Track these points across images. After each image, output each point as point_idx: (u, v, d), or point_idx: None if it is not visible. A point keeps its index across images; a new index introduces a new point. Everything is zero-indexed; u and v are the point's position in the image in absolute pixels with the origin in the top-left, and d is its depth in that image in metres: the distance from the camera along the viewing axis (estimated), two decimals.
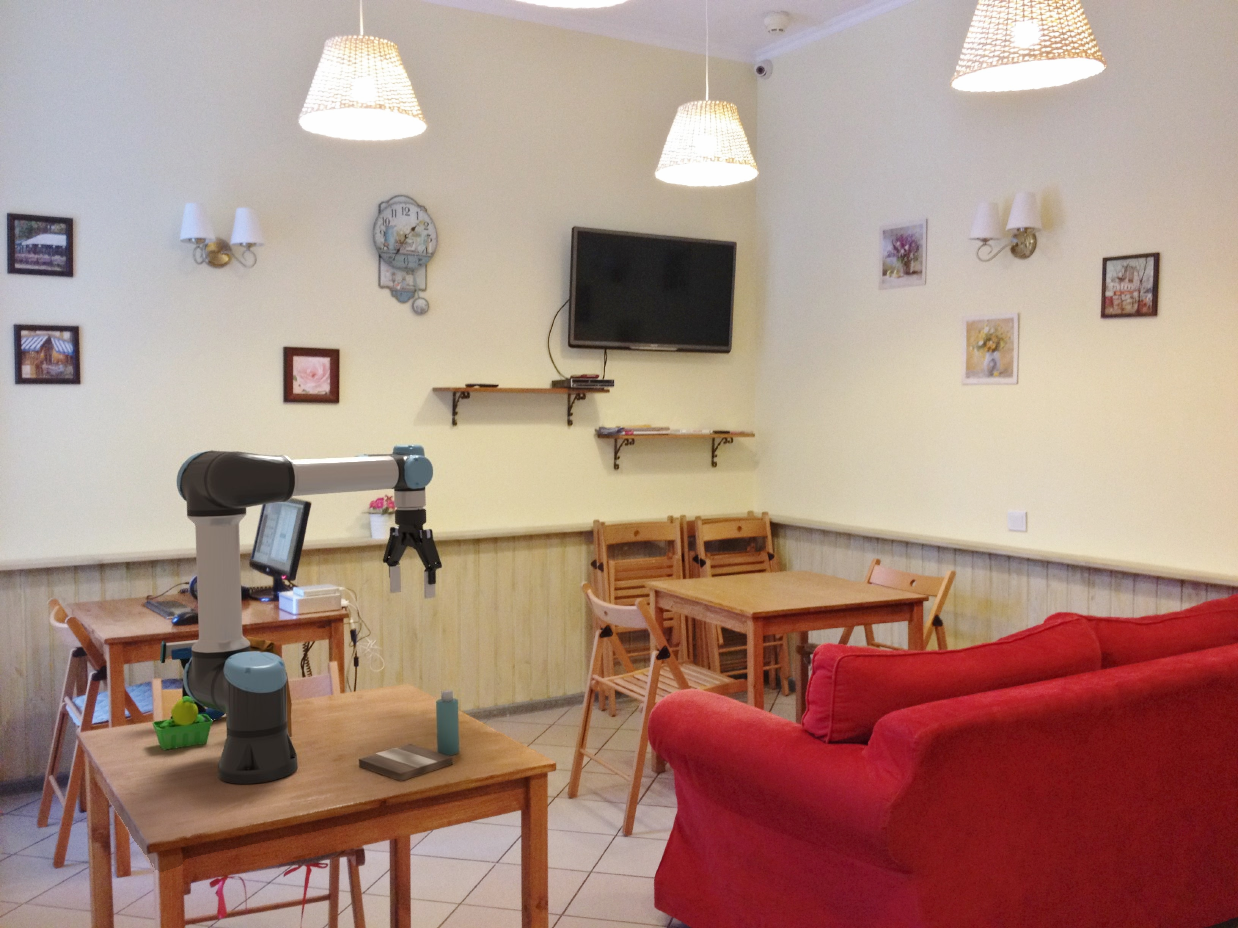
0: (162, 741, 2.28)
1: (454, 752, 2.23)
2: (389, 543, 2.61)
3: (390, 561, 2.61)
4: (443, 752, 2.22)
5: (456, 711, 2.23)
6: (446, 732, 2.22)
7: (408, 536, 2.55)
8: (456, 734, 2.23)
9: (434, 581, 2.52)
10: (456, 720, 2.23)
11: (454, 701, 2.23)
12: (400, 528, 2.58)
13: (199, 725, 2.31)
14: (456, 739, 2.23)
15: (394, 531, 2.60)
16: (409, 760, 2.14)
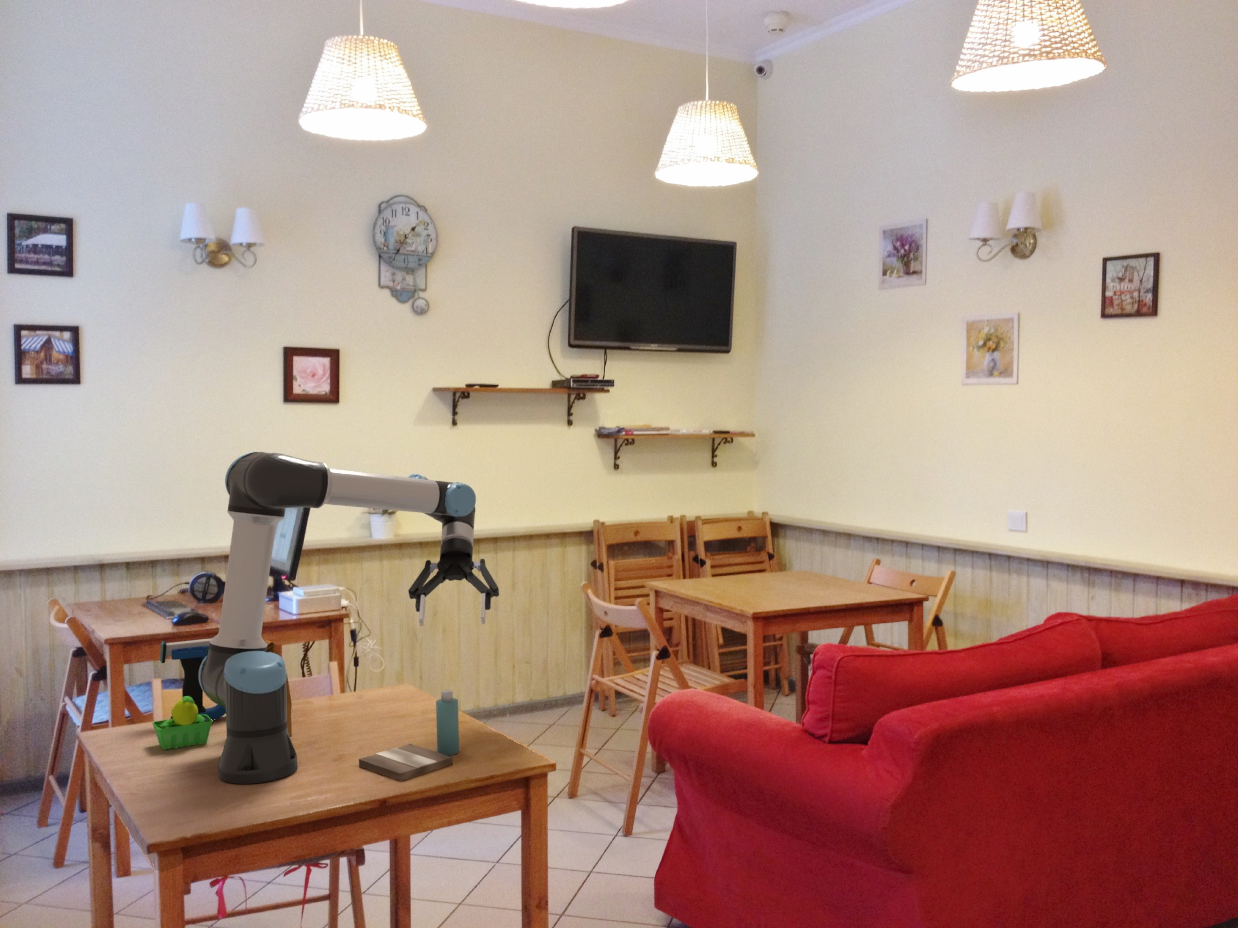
0: (162, 741, 2.28)
1: (454, 752, 2.23)
2: (423, 574, 2.41)
3: (422, 590, 2.38)
4: (443, 752, 2.22)
5: (456, 711, 2.23)
6: (446, 732, 2.22)
7: (461, 563, 2.43)
8: (456, 734, 2.23)
9: (490, 606, 2.38)
10: (456, 720, 2.23)
11: (454, 701, 2.23)
12: (443, 560, 2.44)
13: (199, 725, 2.31)
14: (456, 739, 2.23)
15: (430, 565, 2.44)
16: (409, 760, 2.14)
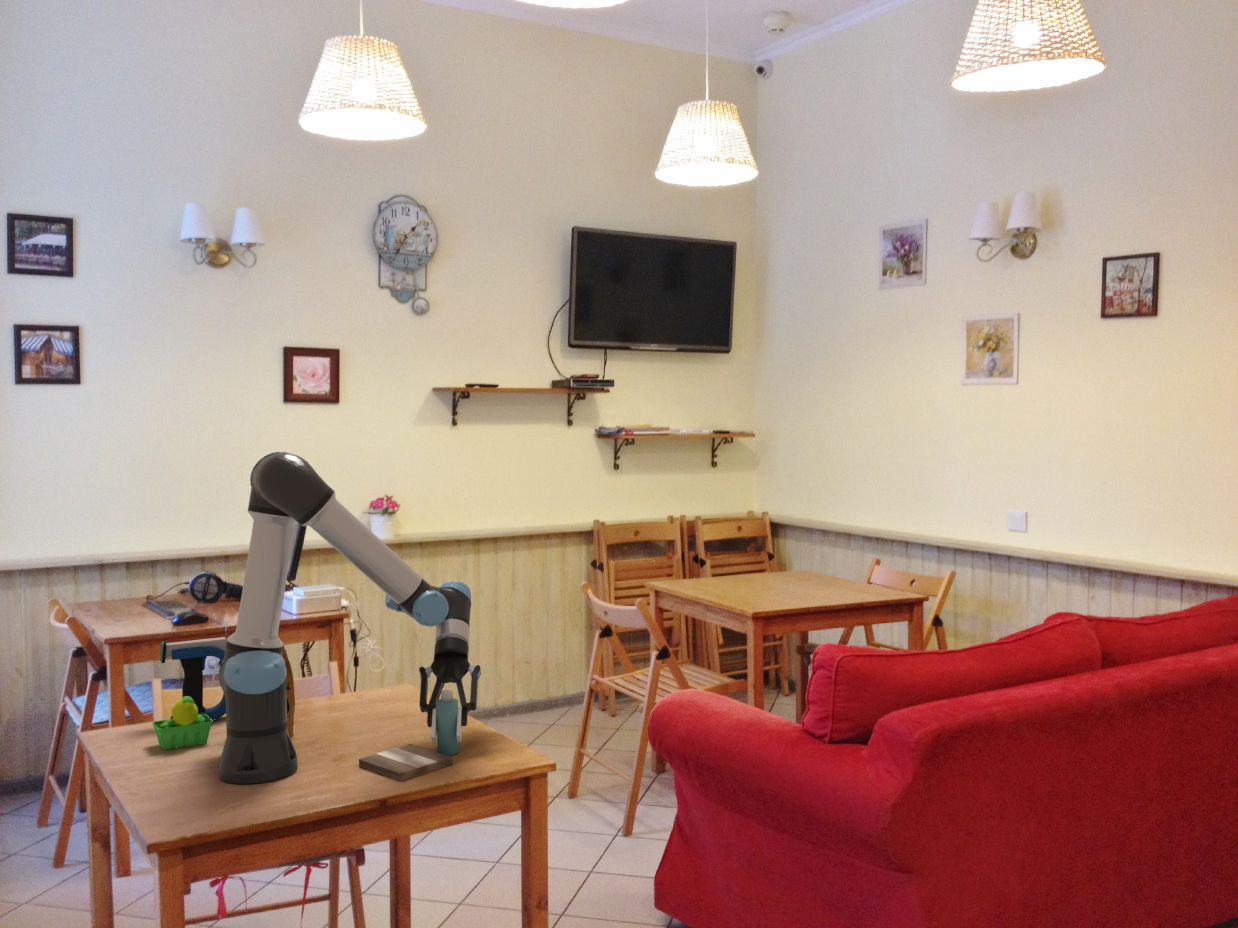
0: (162, 741, 2.28)
1: (454, 752, 2.23)
2: (424, 683, 2.28)
3: (432, 702, 2.25)
4: (443, 752, 2.22)
5: (456, 711, 2.23)
6: (446, 732, 2.22)
7: (456, 665, 2.30)
8: (456, 734, 2.23)
9: (466, 722, 2.24)
10: (456, 720, 2.23)
11: (454, 701, 2.23)
12: (436, 661, 2.32)
13: (199, 725, 2.31)
14: (456, 739, 2.23)
15: (425, 670, 2.31)
16: (409, 760, 2.14)
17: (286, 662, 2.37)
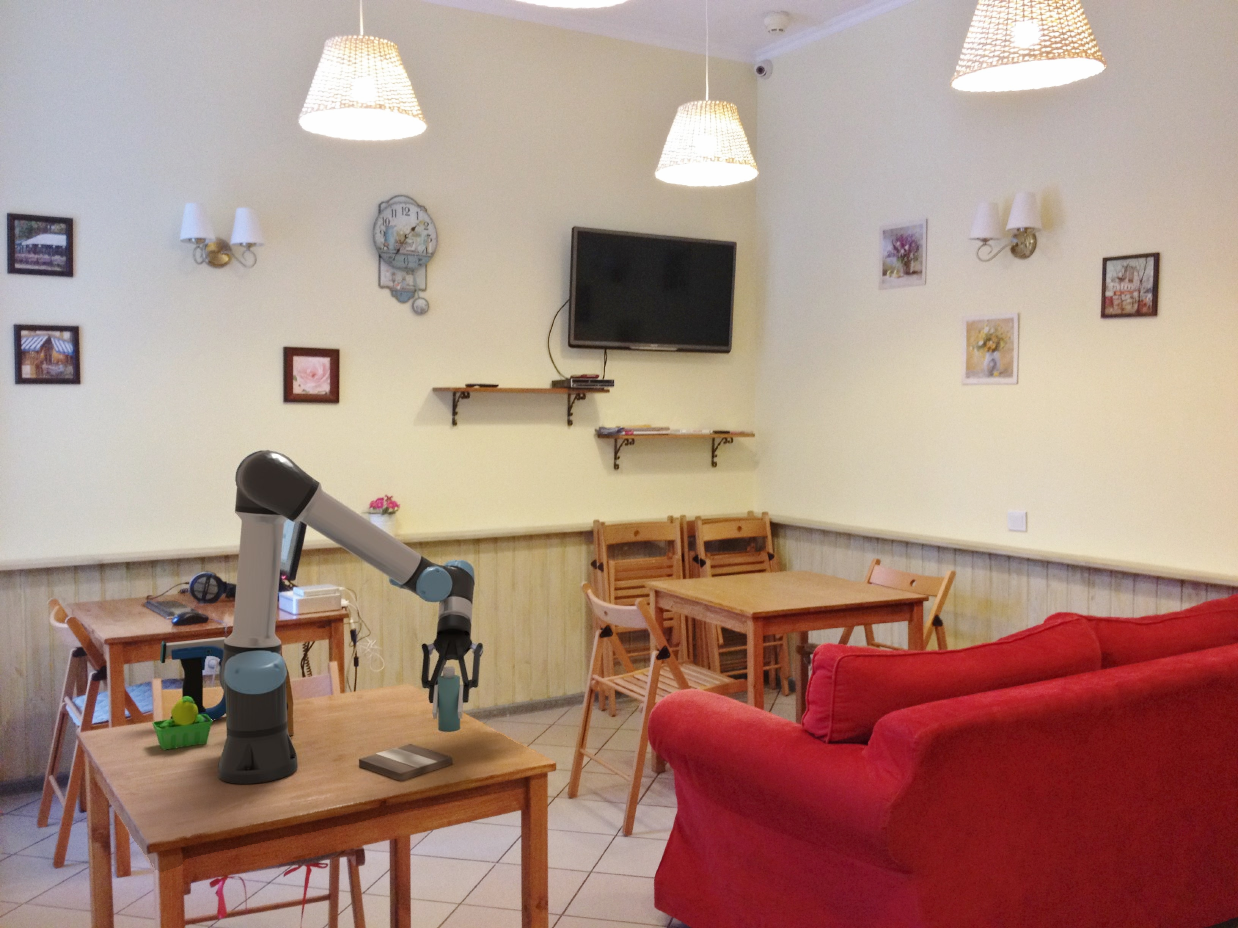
0: (162, 741, 2.28)
1: (455, 728, 2.22)
2: (426, 659, 2.28)
3: (434, 678, 2.25)
4: (444, 728, 2.22)
5: (458, 687, 2.23)
6: (448, 708, 2.22)
7: (458, 642, 2.30)
8: (457, 711, 2.23)
9: (468, 698, 2.24)
10: (458, 697, 2.23)
11: (456, 677, 2.23)
12: (438, 638, 2.32)
13: (199, 725, 2.31)
14: (457, 716, 2.23)
15: None
16: (409, 760, 2.14)
17: None
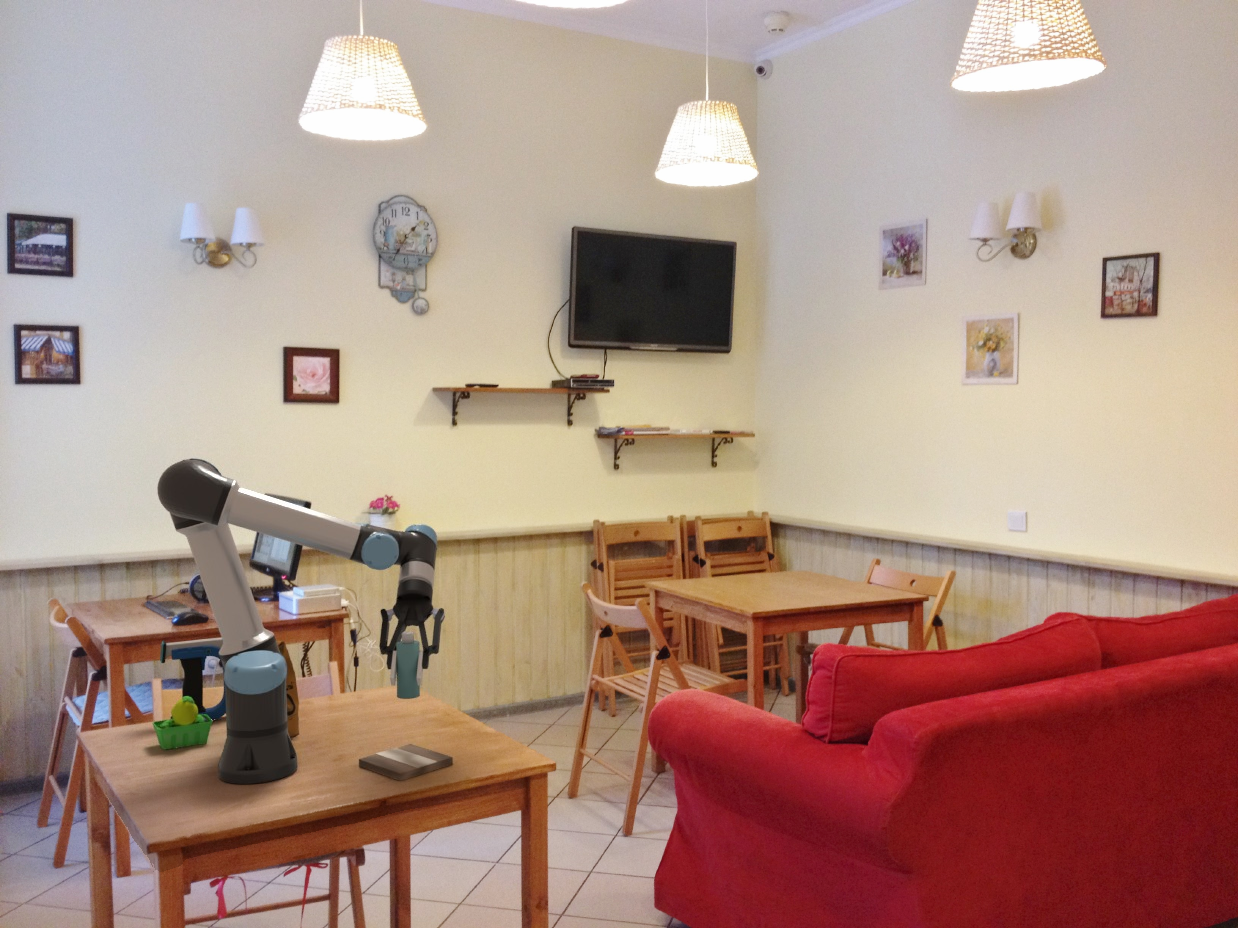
0: (162, 741, 2.28)
1: (414, 695, 2.15)
2: (385, 625, 2.20)
3: (393, 644, 2.17)
4: (403, 695, 2.14)
5: (417, 653, 2.15)
6: (406, 674, 2.14)
7: (418, 608, 2.22)
8: None
9: (428, 665, 2.16)
10: (417, 662, 2.15)
11: (415, 643, 2.15)
12: (398, 603, 2.24)
13: (199, 725, 2.31)
14: None
15: (387, 613, 2.23)
16: (409, 760, 2.14)
17: (288, 661, 2.37)
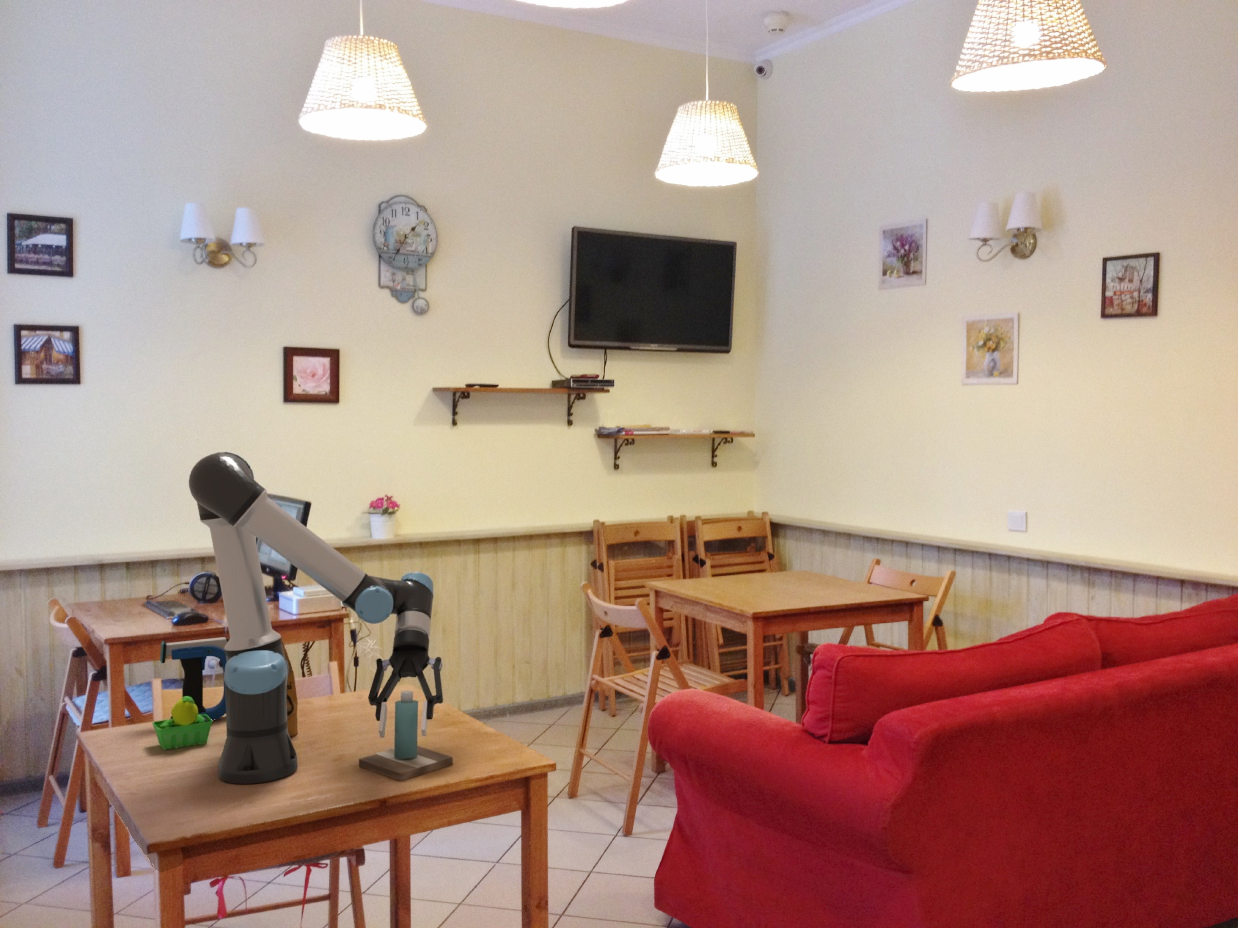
0: (162, 741, 2.28)
1: (411, 755, 2.14)
2: (378, 675, 2.20)
3: (382, 695, 2.17)
4: (400, 755, 2.14)
5: (415, 712, 2.16)
6: (404, 734, 2.14)
7: (415, 659, 2.22)
8: (414, 736, 2.15)
9: (432, 715, 2.16)
10: (415, 722, 2.15)
11: (414, 702, 2.16)
12: (395, 654, 2.24)
13: (199, 725, 2.31)
14: (414, 742, 2.15)
15: (382, 663, 2.22)
16: (409, 760, 2.14)
17: None
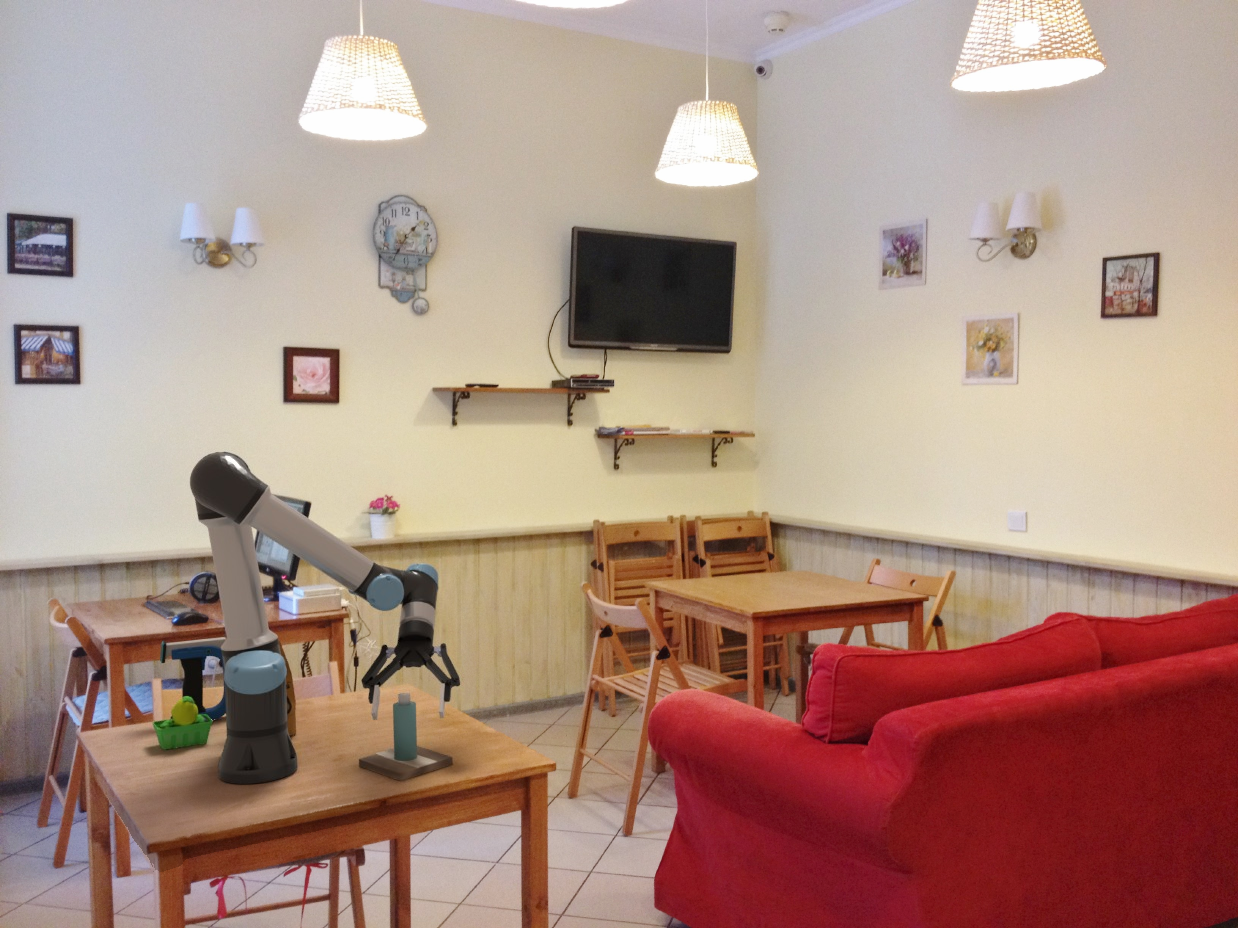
0: (162, 741, 2.28)
1: (411, 757, 2.14)
2: (378, 661, 2.23)
3: (376, 679, 2.20)
4: (400, 757, 2.14)
5: (414, 715, 2.15)
6: (403, 736, 2.13)
7: (420, 648, 2.24)
8: (413, 738, 2.15)
9: (449, 698, 2.19)
10: (414, 724, 2.15)
11: (412, 704, 2.15)
12: (401, 645, 2.26)
13: (199, 725, 2.31)
14: (413, 744, 2.15)
15: (387, 650, 2.25)
16: (409, 760, 2.14)
17: None
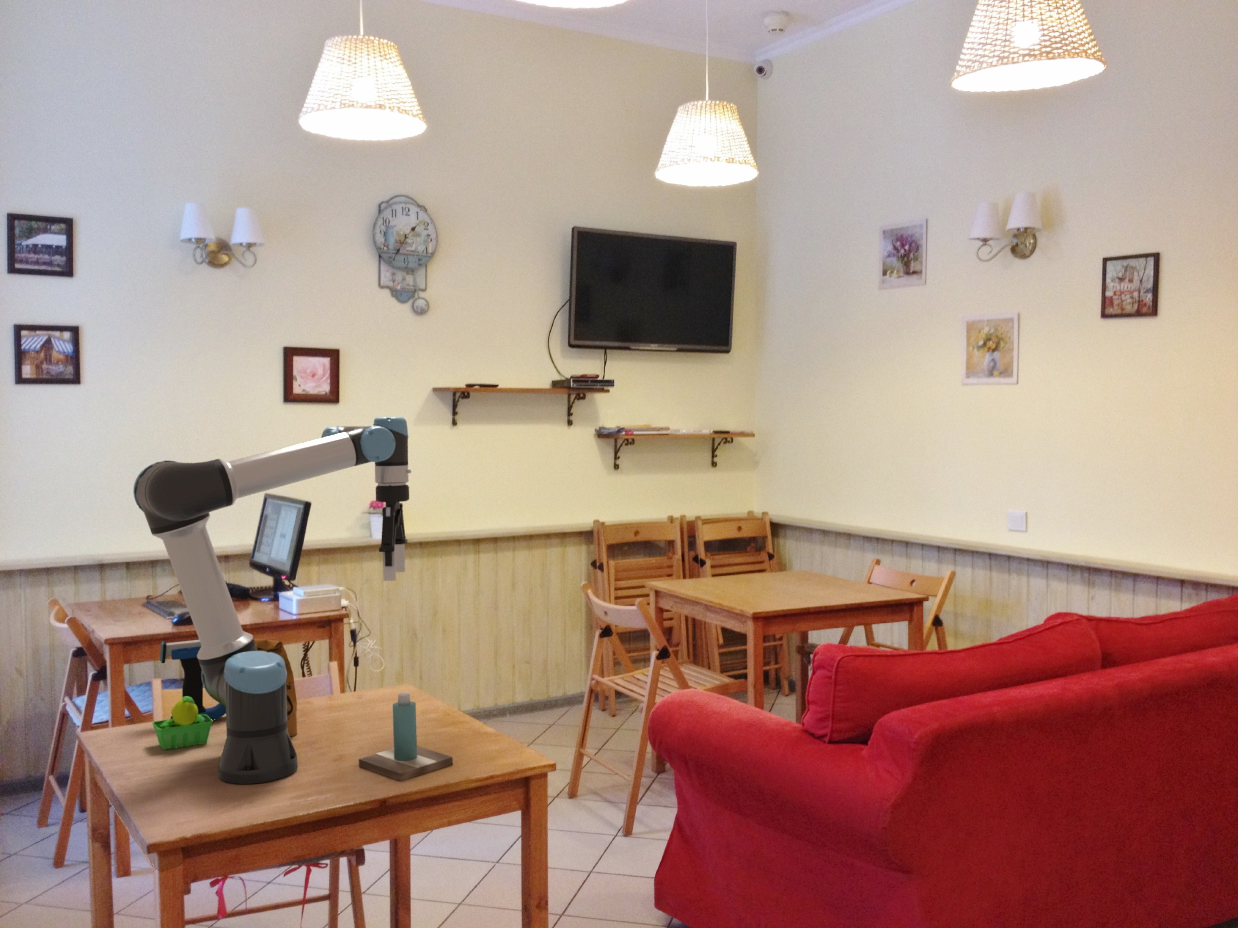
0: (162, 741, 2.28)
1: (411, 757, 2.14)
2: None
3: None
4: (400, 757, 2.14)
5: (413, 715, 2.15)
6: (403, 737, 2.13)
7: None
8: (413, 739, 2.15)
9: (389, 563, 2.35)
10: (413, 724, 2.15)
11: (411, 704, 2.15)
12: None
13: (199, 725, 2.31)
14: (413, 744, 2.15)
15: None
16: None
17: (286, 661, 2.37)
